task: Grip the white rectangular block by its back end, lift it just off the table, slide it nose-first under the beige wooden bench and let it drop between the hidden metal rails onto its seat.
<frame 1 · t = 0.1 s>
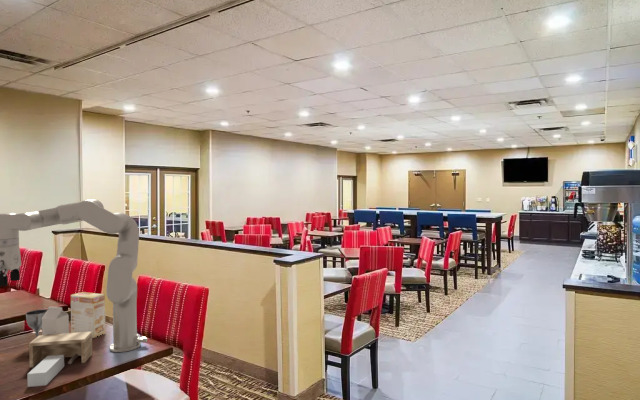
hand: (9, 283, 175), 31 cm above the table, tool pointing down, fingers open, 9 cm apart
wine glass: (37, 345, 189), on the table
beige wooden bench: (62, 360, 171), on the table
coffeecake box: (88, 334, 202), on the table
white rectangular block: (46, 376, 157), on the table
milk carton: (56, 350, 182), on the table
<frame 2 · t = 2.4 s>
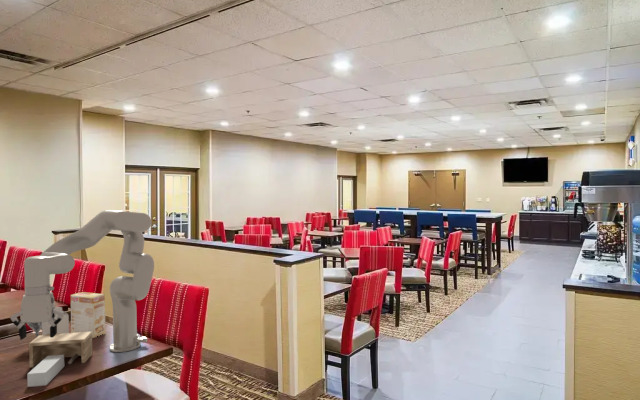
hand: (38, 337, 151), 17 cm above the table, tool pointing down, fingers open, 9 cm apart
nothing on the table moved.
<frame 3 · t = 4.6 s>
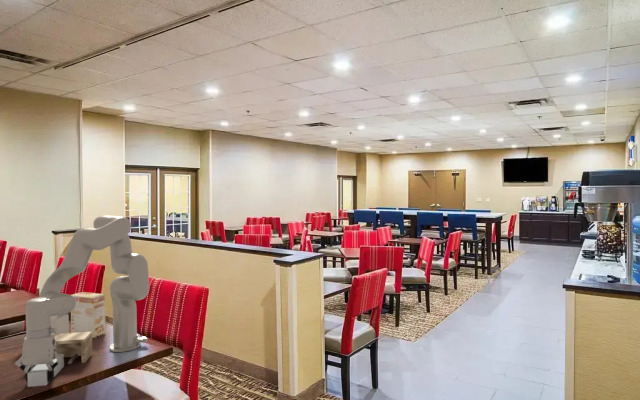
hand: (40, 380, 152), 1 cm above the table, tool pointing down, fingers closed on white rectangular block, 5 cm apart
white rectangular block: (46, 376, 157), on the table, touching gripper
everything else where it was.
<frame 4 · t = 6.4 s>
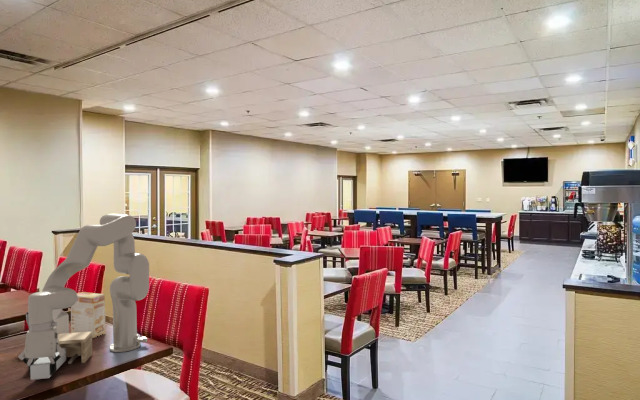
hand: (42, 373, 154), 2 cm above the table, tool pointing down, fingers closed on white rectangular block, 5 cm apart
white rectangular block: (49, 369, 159), point 2 cm above the table, touching gripper
everything else where it was.
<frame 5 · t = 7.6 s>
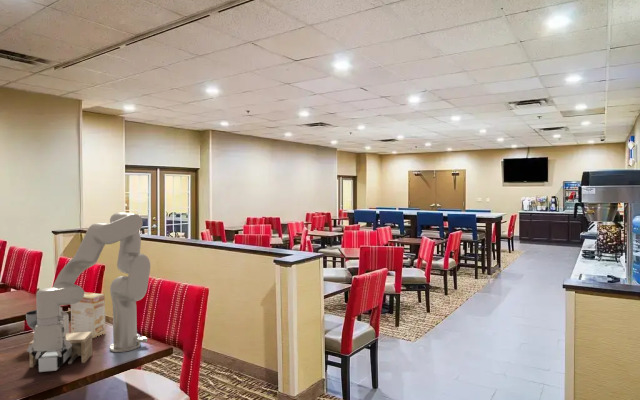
hand: (50, 366, 160), 2 cm above the table, tool pointing down, fingers closed on white rectangular block, 5 cm apart
white rectangular block: (56, 362, 165), point 2 cm above the table, touching gripper
everything else where it was.
when the fingers open (3 cm above the table, at t = 8.4 s): white rectangular block drops 2 cm, on the table.
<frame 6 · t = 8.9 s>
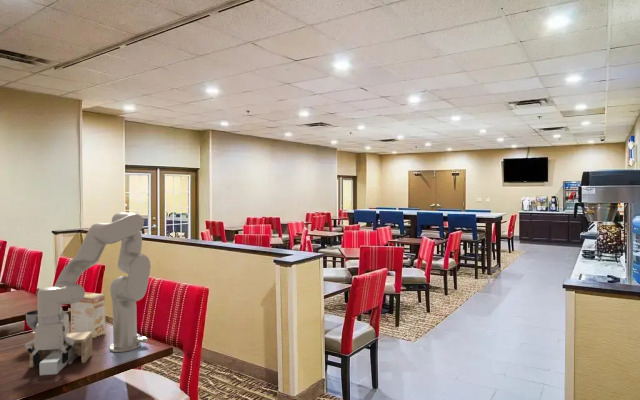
hand: (51, 363, 161), 3 cm above the table, tool pointing down, fingers open, 9 cm apart
white rectangular block: (57, 366, 166), on the table
everything else where it was.
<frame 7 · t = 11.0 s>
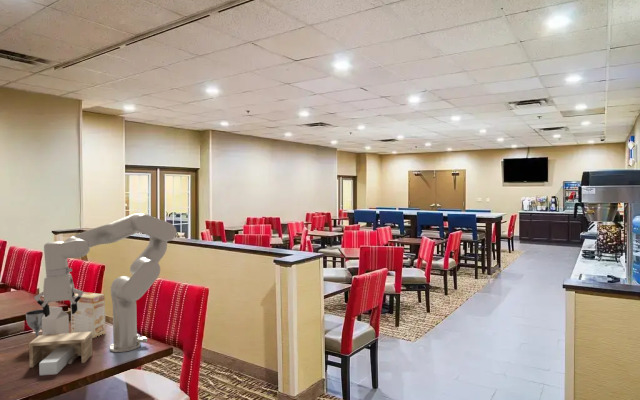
hand: (60, 314, 167), 20 cm above the table, tool pointing down, fingers open, 9 cm apart
nothing on the table moved.
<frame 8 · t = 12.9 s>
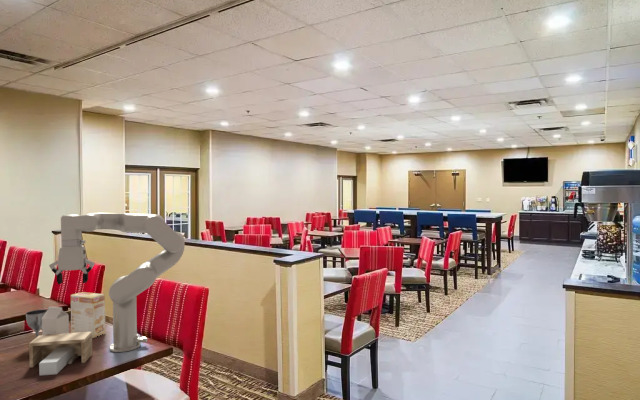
hand: (72, 283, 178), 30 cm above the table, tool pointing down, fingers open, 9 cm apart
nothing on the table moved.
at the end: white rectangular block 0.2 cm from the target spot on the beige wooden bench, point 0.0 cm above the beige wooden bench's base; white rectangular block tilted 0°; the gripper is holding nothing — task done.
